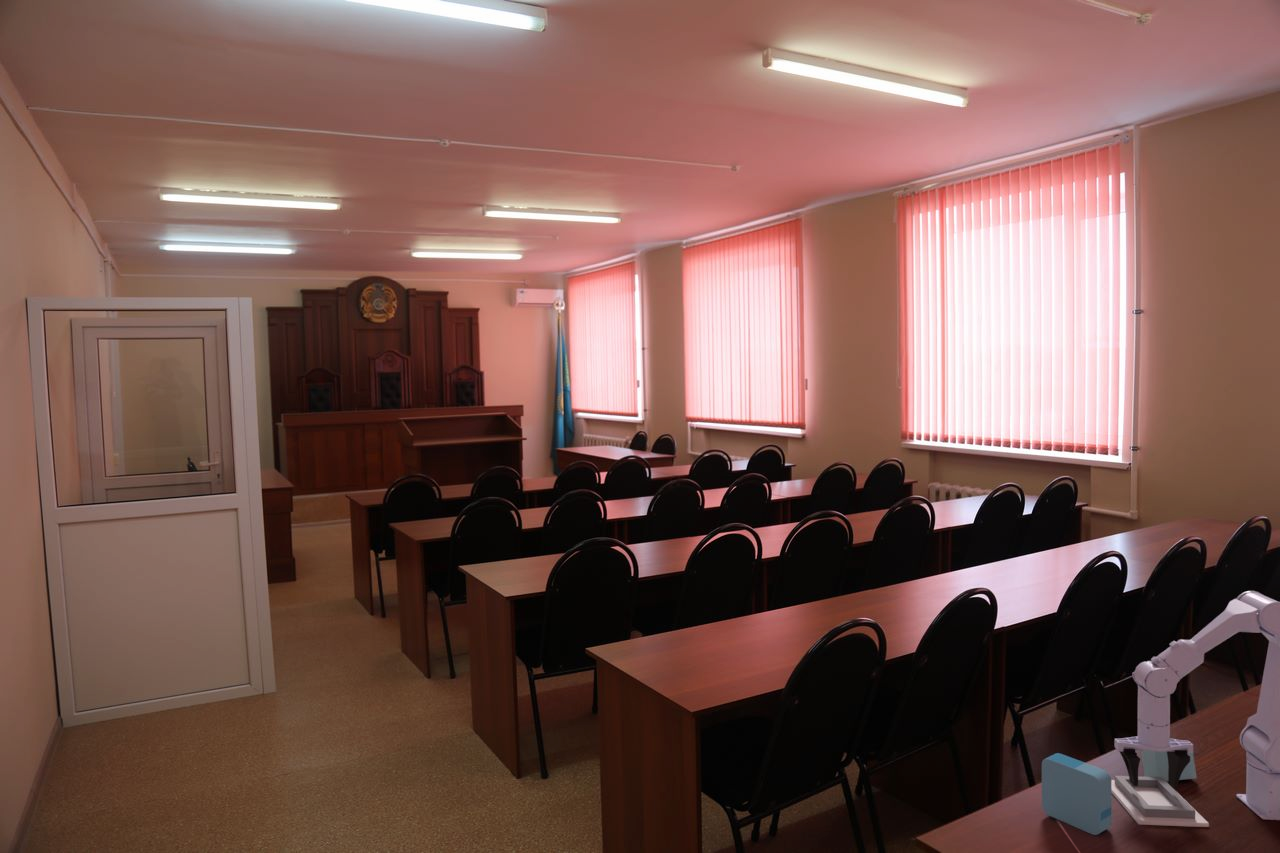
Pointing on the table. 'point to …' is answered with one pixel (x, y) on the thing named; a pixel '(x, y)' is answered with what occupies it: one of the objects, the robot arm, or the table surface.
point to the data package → (1076, 793)
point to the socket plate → (1155, 802)
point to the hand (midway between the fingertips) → (1153, 784)
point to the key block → (1164, 765)
